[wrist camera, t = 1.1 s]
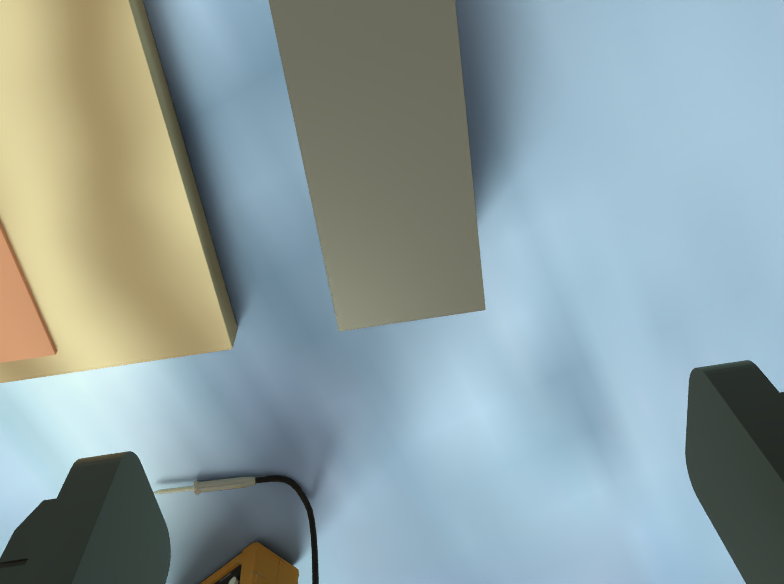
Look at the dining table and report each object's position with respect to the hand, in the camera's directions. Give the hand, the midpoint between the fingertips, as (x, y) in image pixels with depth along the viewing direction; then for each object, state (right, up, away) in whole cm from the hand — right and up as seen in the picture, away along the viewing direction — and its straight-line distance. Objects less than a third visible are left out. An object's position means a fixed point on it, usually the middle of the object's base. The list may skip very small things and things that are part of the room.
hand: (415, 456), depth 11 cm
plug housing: (-1, +8, +15) cm, 17 cm away
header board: (-16, +6, +16) cm, 23 cm away
